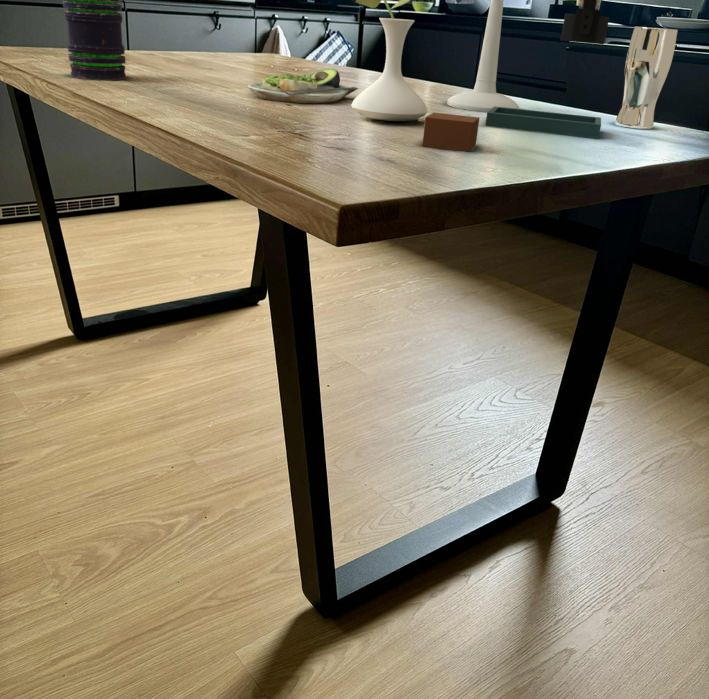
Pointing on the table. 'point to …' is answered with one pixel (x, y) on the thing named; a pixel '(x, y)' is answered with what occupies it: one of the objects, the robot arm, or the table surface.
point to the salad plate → (302, 88)
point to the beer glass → (645, 75)
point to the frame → (544, 122)
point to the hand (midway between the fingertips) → (583, 38)
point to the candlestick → (486, 70)
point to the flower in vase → (390, 77)
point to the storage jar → (95, 39)
